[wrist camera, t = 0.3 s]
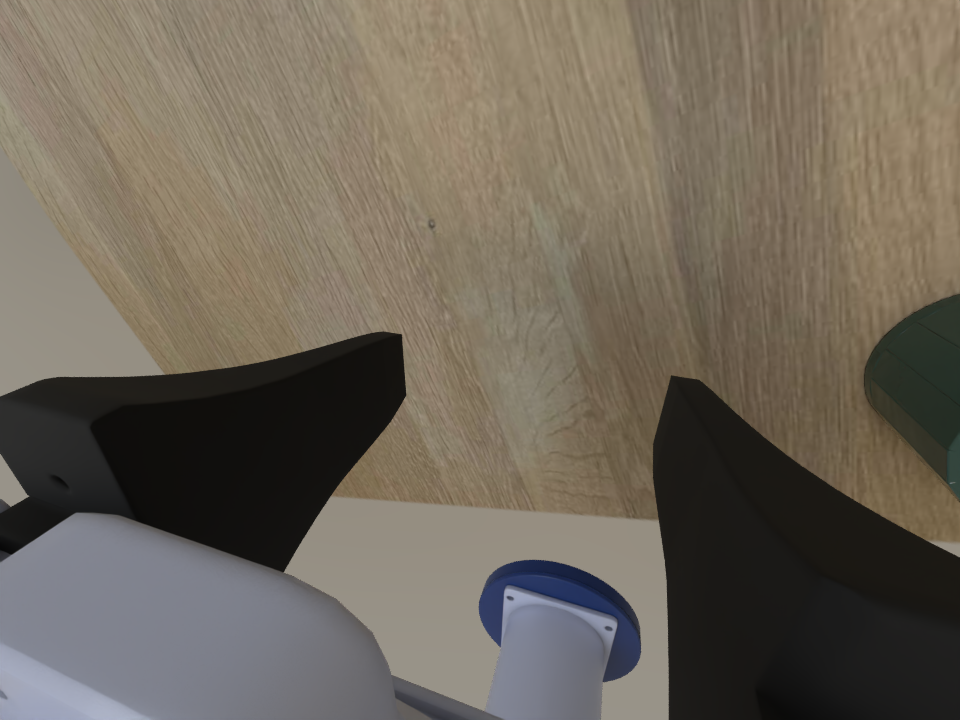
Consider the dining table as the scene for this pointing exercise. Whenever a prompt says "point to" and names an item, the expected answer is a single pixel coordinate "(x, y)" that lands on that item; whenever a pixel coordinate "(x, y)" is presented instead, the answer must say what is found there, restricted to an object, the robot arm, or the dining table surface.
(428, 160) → the dining table surface
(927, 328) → the pot
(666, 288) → the dining table surface
